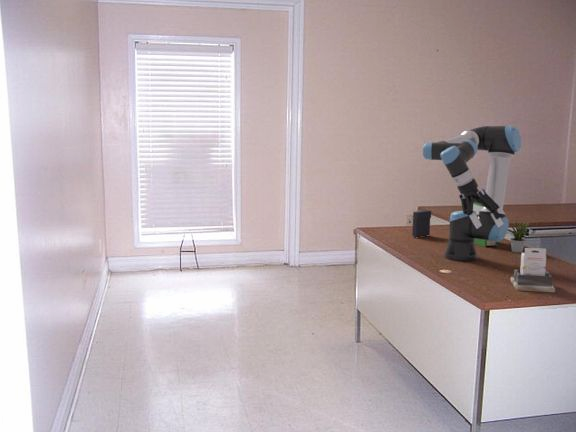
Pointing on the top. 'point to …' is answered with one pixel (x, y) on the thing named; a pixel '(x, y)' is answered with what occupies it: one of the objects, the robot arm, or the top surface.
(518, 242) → the house plant
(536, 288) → the sleeve stand
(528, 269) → the ink cartridge box
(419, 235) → the dark navy upright block
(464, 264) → the top surface
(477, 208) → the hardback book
